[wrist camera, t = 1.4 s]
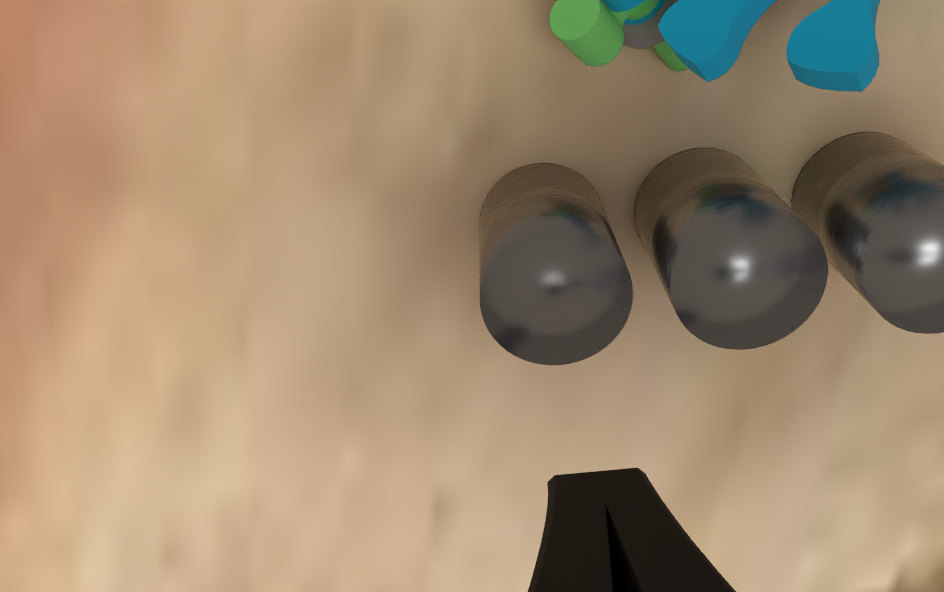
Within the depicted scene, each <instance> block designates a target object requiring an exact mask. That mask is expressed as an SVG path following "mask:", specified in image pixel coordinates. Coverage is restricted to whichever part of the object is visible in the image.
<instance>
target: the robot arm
mask: <svg viewBox="0 0 944 592" xmlns="http://www.w3.org/2000/svg"><path fill="white" fill-rule="evenodd" d="M528 592H736V591H735V590H734V589H733V588H732V587H731V585H730V584H729V583H728V582H727V581H726V580H725V579H724V578H723V576H722V575H721V574H720V573H719V572H718V571H717V570H716V568H715V567H714V566H713V565H712V564H711V562H710V561H709V560H708V559H707V558H706V556H705V555H704V554H703V553H702V552H701V550H700V549H699V548H698V547H697V546H696V545H695V543H694V542H693V541H692V540H691V538H690V537H689V536H688V534H687V533H686V532H685V531H684V529H683V528H682V527H681V525H680V524H679V523H678V521H677V520H676V519H675V517H674V516H673V515H672V513H671V512H670V511H669V509H668V508H667V506H666V505H665V504H664V502H663V501H662V499H661V498H660V496H659V495H658V493H657V492H656V490H655V489H654V487H653V486H652V484H651V482H650V481H649V479H648V477H647V476H646V474H645V473H644V472H642V471H641V470H640V469H639V468H630V469H619V470H608V471H597V472H586V473H575V474H564V475H555V476H554V477H553V478H552V479H550V480H549V481H548V506H547V514H546V521H545V526H544V531H543V537H542V542H541V546H540V549H539V553H538V557H537V561H536V565H535V569H534V572H533V576H532V580H531V583H530V586H529V589H528Z"/></svg>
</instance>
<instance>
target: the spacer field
mask: <svg viewBox="0 0 944 592" xmlns="http://www.w3.org/2000/svg"><path fill="white" fill-rule="evenodd" d="M634 215H635V224H636V228H637V231H638V234H639V236H640V238H641V240H642V243H643V245H644V247H645V249H646V251H647V253H648V255H649V257H650V259H651V261H652V263H653V265H654V268H655V270H656V272H657V274H658V276H659V278H660V280H661V282H662V284H663V286H664V288H665V290H666V292H667V295H668V297H669V299H670V301H671V303H672V305H673V307H674V309H675V311H676V313H677V315H678V317H679V319H680V320H681V322H682V323H683V325H684V326H685V327H686V328H687V329H688V330H689V331H690V332H691V333H692V334H693V335H695V336H696V337H697V338H699V339H700V340H702V341H704V342H706V343H708V344H711V345H714V346H717V347H721V348H726V349H751V348H757V347H761V346H765V345H768V344H771V343H773V342H776V341H778V340H780V339H782V338H784V337H785V336H787V335H789V334H790V333H792V332H793V331H794V330H796V329H797V328H798V327H799V326H801V325H802V324H803V323H804V322H805V321H806V320H807V319H808V318H809V316H810V315H811V314H812V313H813V311H814V310H815V308H816V307H817V305H818V303H819V302H820V299H821V297H822V295H823V293H824V289H825V286H826V282H827V276H828V264H827V260H828V261H829V262H830V263H831V264H832V265H833V267H834V268H835V269H836V270H837V271H838V272H839V273H840V274H841V275H842V276H843V277H844V278H845V279H846V280H847V281H848V282H849V283H850V284H851V285H852V286H853V287H854V288H855V289H856V290H857V291H858V292H859V293H860V294H861V295H862V296H863V297H864V298H865V299H866V300H867V301H868V302H869V303H870V305H871V306H872V307H873V308H874V309H875V310H876V311H877V312H878V313H879V314H880V315H881V316H882V317H883V318H884V319H885V320H887V321H888V322H889V323H891V324H893V325H895V326H896V327H898V328H901V329H904V330H906V331H911V332H915V333H925V334H928V333H941V332H944V166H943V165H942V164H940V163H938V162H936V161H934V160H933V159H931V158H929V157H927V156H926V155H924V154H922V153H920V152H919V151H917V150H915V149H913V148H912V147H910V146H908V145H906V144H904V143H903V142H901V141H899V140H897V139H896V138H894V137H891V136H889V135H886V134H881V133H875V132H862V133H855V134H851V135H848V136H844V137H842V138H839V139H837V140H835V141H833V142H831V143H830V144H828V145H826V146H825V147H824V148H822V149H821V150H820V151H818V152H817V153H816V154H815V155H814V156H813V157H812V158H811V159H810V160H809V161H808V163H807V164H806V165H805V167H804V168H803V170H802V171H801V173H800V175H799V177H798V179H797V181H796V184H795V187H794V191H793V196H792V209H791V208H790V207H789V206H788V205H787V204H786V203H785V202H784V201H783V200H782V199H781V198H779V197H778V196H777V195H776V194H775V193H774V192H773V191H772V190H771V189H770V188H769V187H768V186H767V185H766V184H765V183H764V182H763V181H762V180H761V179H760V178H759V177H758V176H757V175H756V174H755V173H754V172H753V171H752V170H751V169H750V168H749V167H748V166H747V165H746V164H745V163H744V162H743V161H741V160H740V159H739V158H737V157H736V156H734V155H732V154H730V153H728V152H725V151H722V150H718V149H712V148H697V149H690V150H687V151H683V152H680V153H678V154H675V155H673V156H671V157H670V158H668V159H666V160H665V161H663V162H662V163H661V164H659V165H658V166H657V167H656V168H655V169H654V170H653V171H652V172H651V173H650V174H649V176H648V177H647V178H646V180H645V181H644V183H643V184H642V186H641V188H640V190H639V193H638V196H637V199H636V204H635V214H634ZM632 298H633V289H632V281H631V277H630V274H629V271H628V269H627V266H626V264H625V261H624V259H623V257H622V254H621V252H620V249H619V247H618V244H617V242H616V239H615V237H614V234H613V232H612V229H611V227H610V224H609V222H608V220H607V217H606V215H605V212H604V210H603V207H602V205H601V202H600V200H599V197H598V195H597V193H596V192H595V190H594V189H593V187H592V186H591V185H590V183H589V182H588V181H587V180H585V179H584V178H583V177H582V176H581V175H579V174H578V173H576V172H574V171H573V170H571V169H568V168H566V167H563V166H559V165H555V164H533V165H528V166H524V167H521V168H519V169H516V170H514V171H512V172H510V173H509V174H507V175H506V176H504V177H503V178H502V179H500V180H499V181H498V182H497V183H496V184H495V185H494V187H493V188H492V189H491V191H490V192H489V193H488V195H487V197H486V199H485V201H484V204H483V206H482V210H481V214H480V307H481V312H482V316H483V319H484V322H485V324H486V326H487V328H488V330H489V332H490V333H491V335H492V336H493V338H494V339H495V340H496V341H497V342H498V343H499V344H500V345H501V346H502V347H503V348H504V349H506V350H507V351H508V352H510V353H512V354H513V355H515V356H517V357H519V358H521V359H523V360H526V361H529V362H533V363H538V364H544V365H563V364H570V363H574V362H578V361H581V360H583V359H586V358H589V357H590V356H592V355H594V354H596V353H598V352H599V351H601V350H602V349H604V348H605V347H606V346H607V345H609V344H610V343H611V342H612V341H613V340H614V339H615V338H616V336H617V335H618V334H619V333H620V331H621V330H622V328H623V327H624V325H625V323H626V321H627V319H628V316H629V313H630V310H631V306H632Z"/></svg>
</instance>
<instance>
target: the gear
mask: <svg viewBox="0 0 944 592" xmlns="http://www.w3.org/2000/svg"><path fill="white" fill-rule="evenodd" d="M775 1H777V0H557V1H556V2H555V4H554V6H553V8H552V10H551V13H550V20H549V21H550V27H551V30H552V31H553V33H554V34H555V35H556V36H557V37H558V38H559V39H560V40H561V41H562V42H563V43H564V44H565V45H566V46H567V47H568V48H569V49H570V50H571V51H572V52H573V53H574V54H575V55H576V56H577V57H578V58H579V59H580V60H581V61H582V62H583V63H585V64H586V65H589V66H596V67H597V66H602V65H604V64H607V63H609V62H610V61H611V60H613V59H614V58H615V57H616V56H617V55H618V53H619V52H620V50H621V48H622V46H623V44H625V45H627V46H629V47H632V48H638V49H640V48H649V47H653V48H654V49H655V51H656V52H657V53H658V54H659V56H660V57H661V58H662V60H663V61H664V62H665V63H666V65H667V66H668V67H669V68H670V69H671V70H674V71H683V70H685V69H687V68H689V69H690V70H691V71H693V72H694V73H695V74H697V75H698V76H700V77H701V78H703V79H704V80H706V81H707V82H709V81H712V80H714V79H717V78H719V77H720V76H722V75H723V74H725V73H726V72H727V71H728V70H729V69H730V68H731V67H732V66H733V64H734V63H735V61H736V59H737V58H738V55H739V53H740V50H741V47H742V44H743V42H744V40H745V38H746V37H747V35H748V33H749V31H750V29H751V28H752V27H753V25H754V24H755V23H756V21H757V20H758V19H759V17H760V16H761V15H762V14H763V13H764V12H765V11H766V10H767V9H768V8H769V7H770V6H771V5H772V4H773V3H774V2H775ZM879 2H880V0H832V1H830V2H829V3H827V4H826V5H824V6H822V7H821V8H819V9H818V10H816V11H815V12H813V13H812V14H810V15H809V16H807V17H806V18H805V19H803V20H802V21H801V22H800V23H799V24H798V25H797V27H796V28H795V29H794V31H793V32H792V34H791V36H790V39H789V41H788V44H787V59H788V63H789V65H790V67H791V69H792V71H793V74H794V76H795V78H796V80H798V81H800V82H802V83H804V84H807V85H809V86H813V87H817V88H820V89H827V90H836V91H863V90H864V89H865V88H866V87H867V86H868V85H869V84H870V83H871V81H872V79H873V78H874V76H875V75H876V72H877V69H878V66H879V52H878V47H877V43H876V38H875V20H876V14H877V8H878V5H879Z"/></svg>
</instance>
